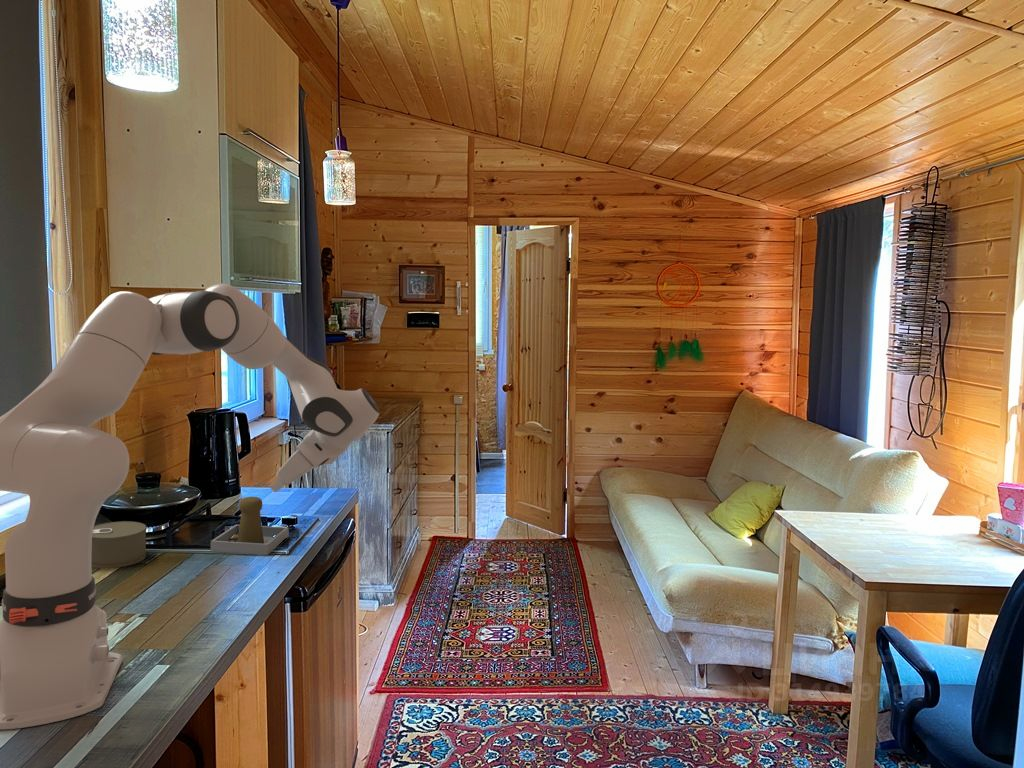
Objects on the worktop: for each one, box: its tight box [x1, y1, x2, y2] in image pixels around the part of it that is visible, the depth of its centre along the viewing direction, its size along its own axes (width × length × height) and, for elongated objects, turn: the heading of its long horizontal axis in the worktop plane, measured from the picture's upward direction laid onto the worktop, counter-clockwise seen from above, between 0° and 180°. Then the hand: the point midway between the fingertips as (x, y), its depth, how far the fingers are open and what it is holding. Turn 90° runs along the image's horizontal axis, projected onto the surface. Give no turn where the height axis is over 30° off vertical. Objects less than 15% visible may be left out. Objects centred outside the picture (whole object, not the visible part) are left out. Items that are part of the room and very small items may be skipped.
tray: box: [210, 523, 290, 556], centre depth 175 cm, size 13×13×3 cm
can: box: [92, 520, 147, 569], centre depth 163 cm, size 12×12×7 cm
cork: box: [237, 496, 264, 544], centre depth 175 cm, size 6×6×11 cm
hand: (281, 484), depth 173 cm, fingers open, 8 cm apart
